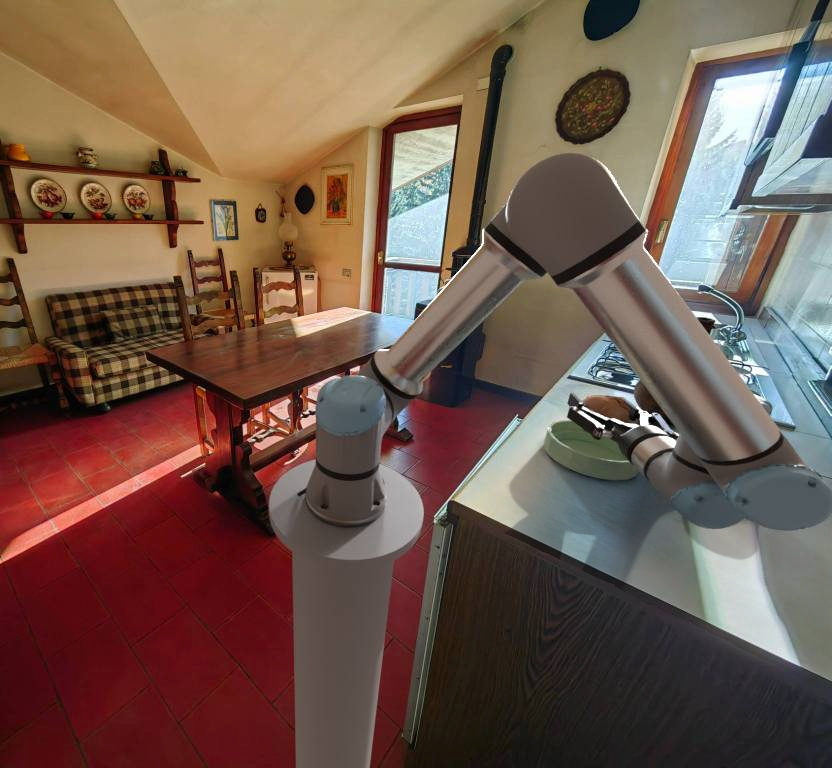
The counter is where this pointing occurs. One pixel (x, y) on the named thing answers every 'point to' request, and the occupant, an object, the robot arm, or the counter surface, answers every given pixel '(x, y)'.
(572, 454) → the bowl
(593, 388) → the counter surface
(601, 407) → the onion
